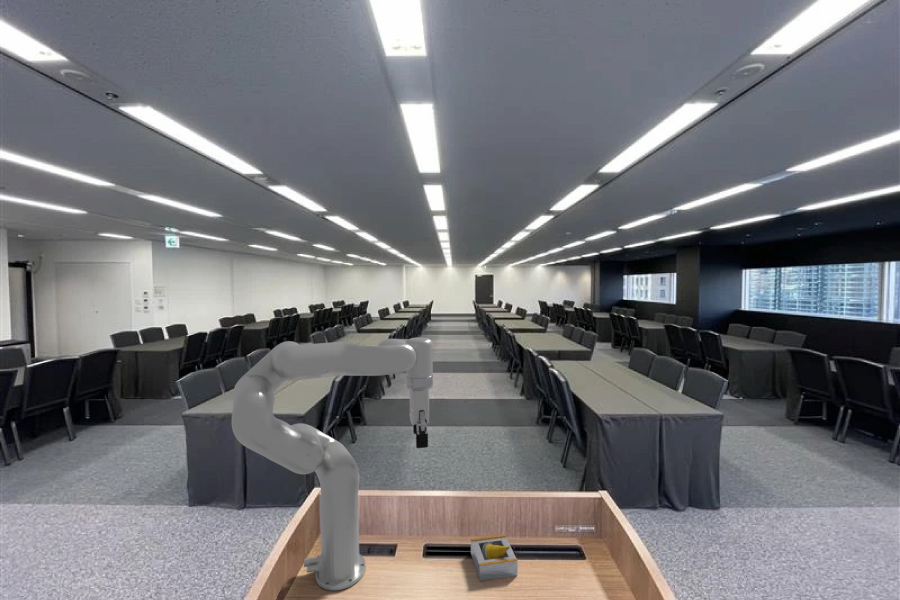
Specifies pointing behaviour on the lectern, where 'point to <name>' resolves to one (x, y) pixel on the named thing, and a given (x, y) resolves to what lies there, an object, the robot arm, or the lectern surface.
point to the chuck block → (493, 566)
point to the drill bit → (493, 551)
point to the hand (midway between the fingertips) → (420, 440)
